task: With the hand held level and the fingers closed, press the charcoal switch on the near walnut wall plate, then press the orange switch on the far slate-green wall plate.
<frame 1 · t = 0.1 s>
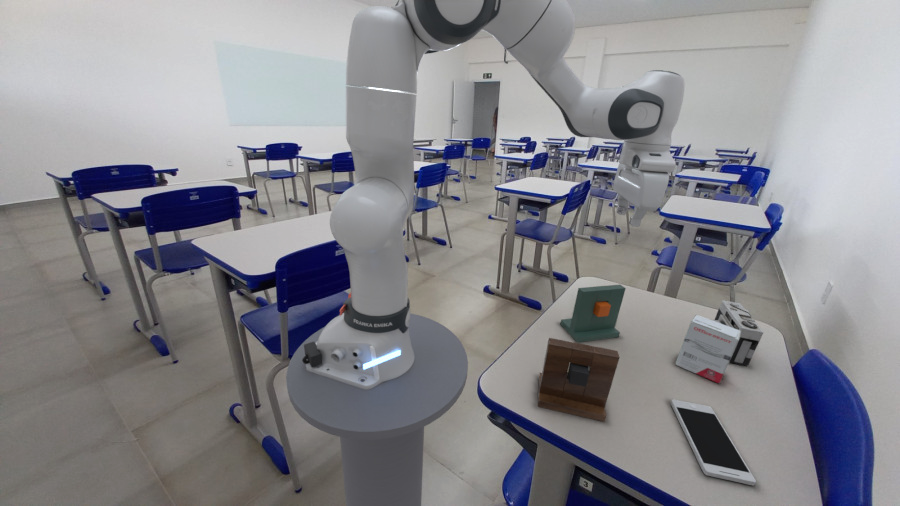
hand: (627, 219, 80), 30 cm above the table, tool pointing down, fingers open, 8 cm apart
near plate: (569, 406, 67), on the table
smartphone: (706, 439, 62), on the table
far switch: (600, 308, 87), point 8 cm above the table, slide at 0.1 cm
ink box: (698, 370, 80), on the table
near switch: (578, 373, 64), point 8 cm above the table, slide at 0.1 cm
far plate: (593, 335, 90), on the table
grey black box: (718, 346, 88), on the table
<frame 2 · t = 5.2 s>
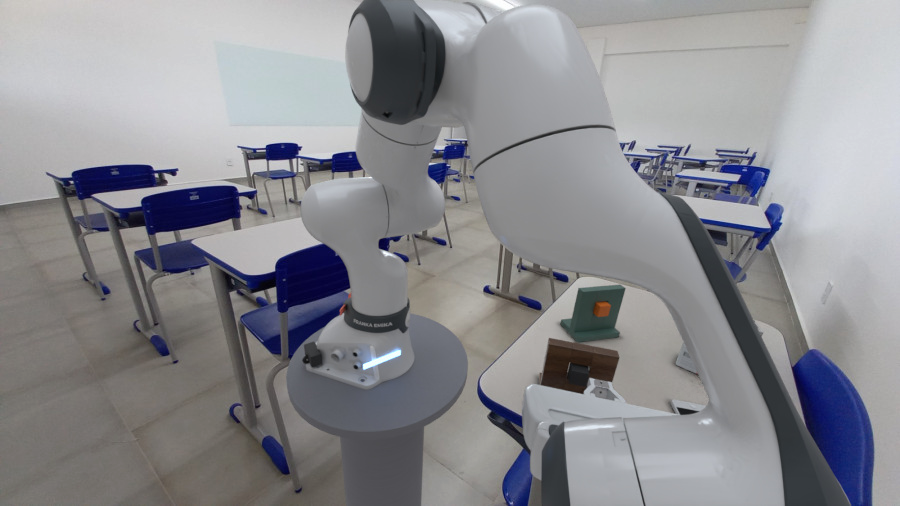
hand: (598, 383, 49), 17 cm above the table, tool horizontal, fingers closed
nothing on the table moved.
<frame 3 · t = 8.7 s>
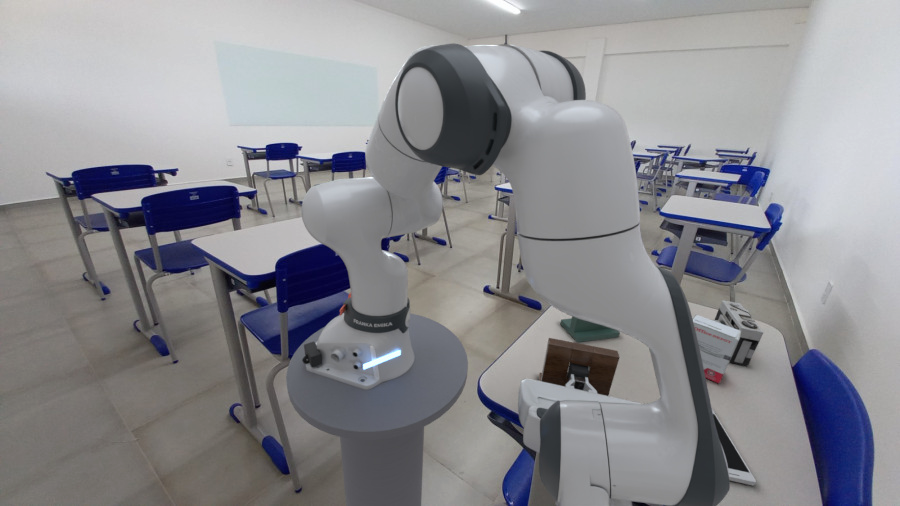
hand: (578, 378, 63), 8 cm above the table, tool horizontal, fingers closed, pressing on near switch
near switch: (578, 372, 64), point 8 cm above the table, slide at -0.1 cm, touching gripper
everything else where it was.
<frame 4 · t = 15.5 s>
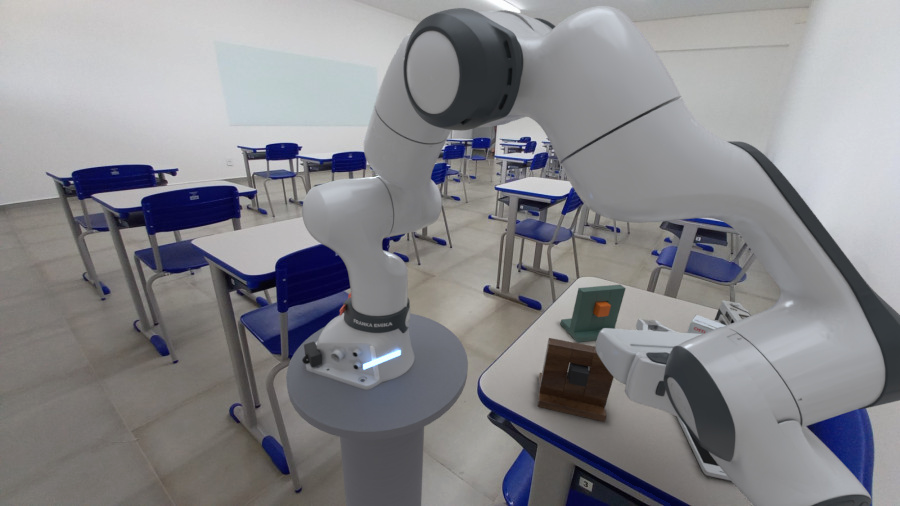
hand: (645, 323, 57), 21 cm above the table, tool horizontal, fingers closed
near switch: (578, 373, 64), point 8 cm above the table, slide at 0.1 cm
everything else where it was.
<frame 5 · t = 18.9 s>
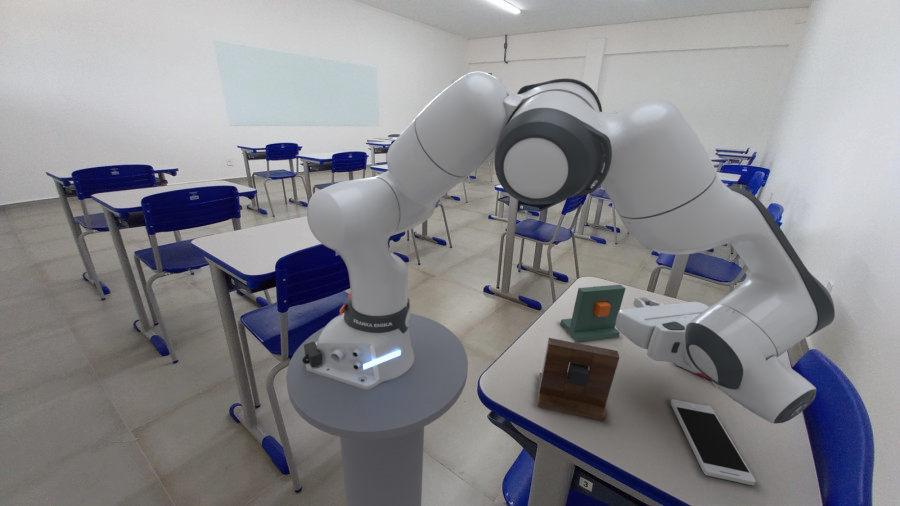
hand: (639, 300, 74), 16 cm above the table, tool horizontal, fingers closed
nothing on the table moved.
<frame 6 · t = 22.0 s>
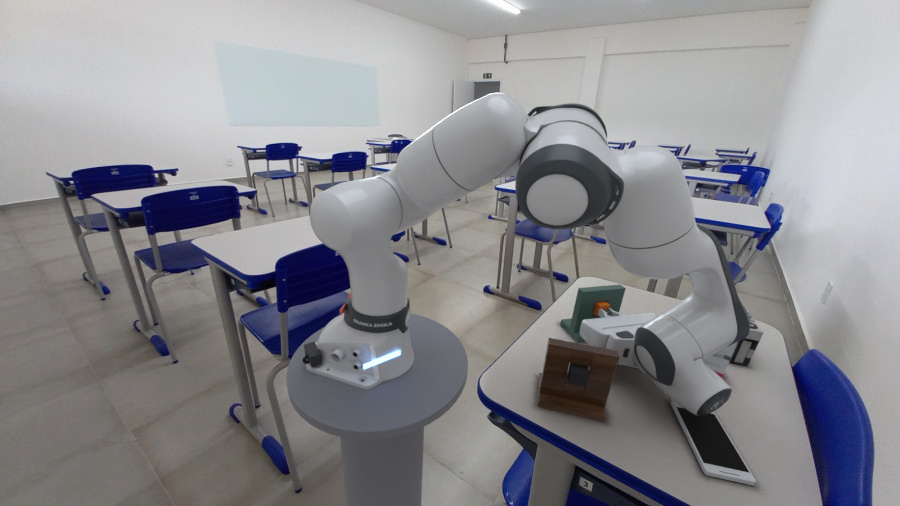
hand: (603, 310, 85), 8 cm above the table, tool horizontal, fingers closed, pressing on far switch
far switch: (599, 307, 87), point 8 cm above the table, slide at -0.3 cm, touching gripper
everything else where it was.
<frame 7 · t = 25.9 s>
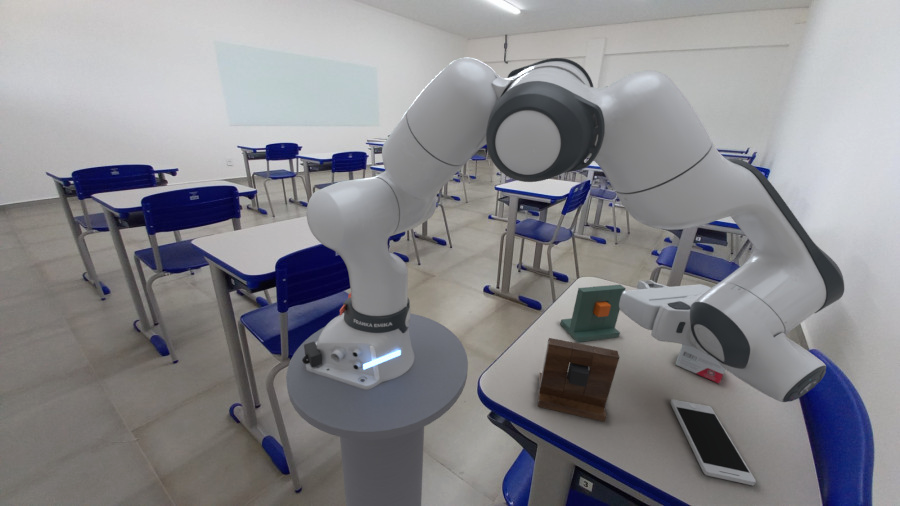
hand: (642, 283, 73), 20 cm above the table, tool horizontal, fingers closed
far switch: (600, 308, 87), point 8 cm above the table, slide at 0.1 cm
everything else where it was.
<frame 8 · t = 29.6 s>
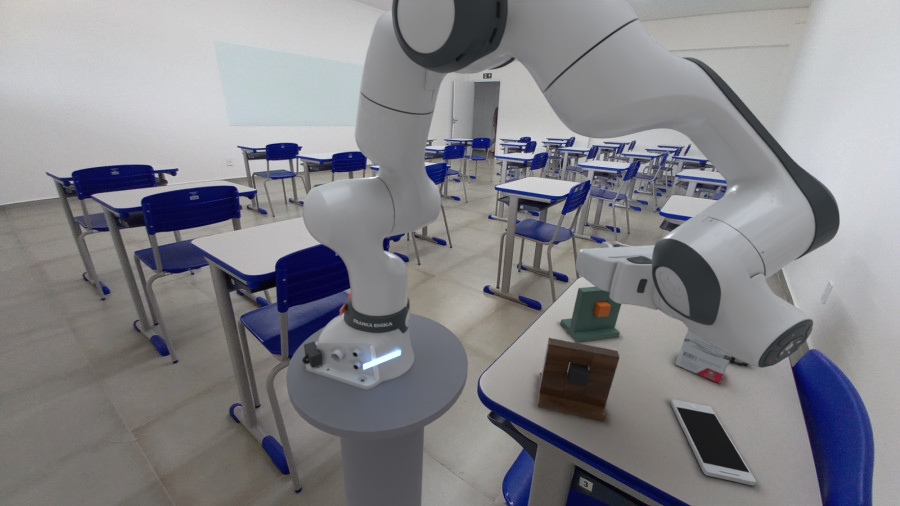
hand: (607, 245, 64), 30 cm above the table, tool horizontal, fingers closed
nothing on the table moved.
at the end: near switch pushed in 1.0 cm at the most during the clip, back to where it started at the end; far switch pushed in 1.0 cm at the most during the clip, back to where it started at the end; far switch slide at 0.1 cm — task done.
